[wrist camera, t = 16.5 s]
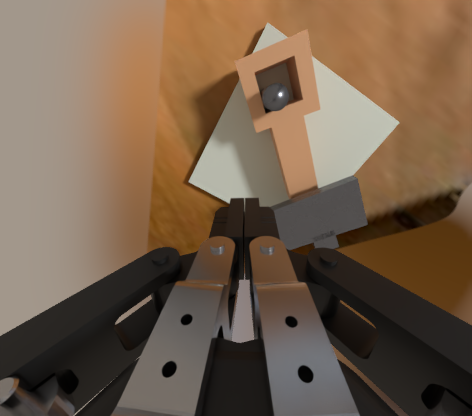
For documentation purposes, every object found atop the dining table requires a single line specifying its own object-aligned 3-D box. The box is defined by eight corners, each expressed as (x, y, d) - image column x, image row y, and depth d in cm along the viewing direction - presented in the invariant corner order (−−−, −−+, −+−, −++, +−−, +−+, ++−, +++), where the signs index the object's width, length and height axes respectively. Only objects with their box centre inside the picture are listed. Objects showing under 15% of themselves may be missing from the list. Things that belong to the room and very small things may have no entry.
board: (266, 25, 20) (267, 22, 19) (394, 121, 24) (399, 122, 23) (190, 179, 28) (188, 181, 27) (295, 234, 31) (296, 238, 30)
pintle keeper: (265, 82, 22) (272, 77, 16) (375, 158, 26) (416, 177, 19) (209, 183, 28) (199, 208, 22) (305, 235, 31) (320, 269, 25)
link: (322, 182, 26) (334, 196, 23) (275, 197, 27) (280, 211, 24) (296, 41, 20) (307, 29, 16) (236, 67, 21) (234, 61, 18)
